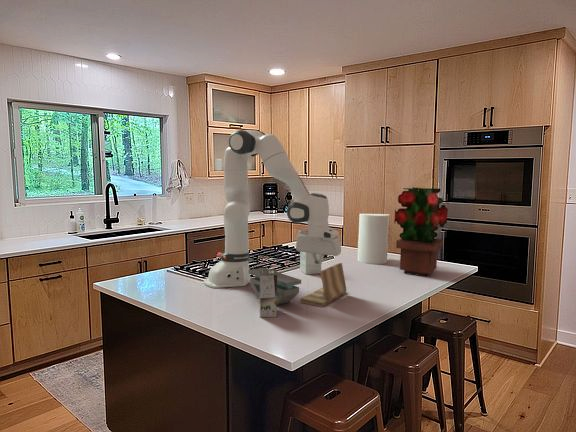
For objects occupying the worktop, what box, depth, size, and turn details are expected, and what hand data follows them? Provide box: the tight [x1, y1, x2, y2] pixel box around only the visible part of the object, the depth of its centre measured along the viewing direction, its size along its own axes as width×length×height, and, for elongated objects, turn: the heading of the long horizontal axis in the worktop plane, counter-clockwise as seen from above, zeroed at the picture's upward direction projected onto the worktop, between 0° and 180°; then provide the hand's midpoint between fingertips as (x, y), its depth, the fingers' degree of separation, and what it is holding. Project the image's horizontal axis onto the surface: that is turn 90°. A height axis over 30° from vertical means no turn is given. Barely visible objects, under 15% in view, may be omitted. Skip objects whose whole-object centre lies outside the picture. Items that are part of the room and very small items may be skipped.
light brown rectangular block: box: [299, 287, 347, 308], centre depth 188 cm, size 24×10×6 cm, turn 149°
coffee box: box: [259, 268, 278, 318], centre depth 166 cm, size 9×6×16 cm
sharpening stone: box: [249, 267, 302, 306], centre depth 182 cm, size 25×8×11 cm, turn 40°
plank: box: [320, 262, 347, 301], centre depth 185 cm, size 18×12×1 cm
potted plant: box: [393, 186, 448, 277], centre depth 233 cm, size 22×22×45 cm
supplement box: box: [299, 252, 322, 275], centre depth 230 cm, size 9×9×15 cm
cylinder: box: [357, 213, 390, 265], centre depth 260 cm, size 17×17×28 cm
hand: (317, 263), depth 189 cm, fingers closed
